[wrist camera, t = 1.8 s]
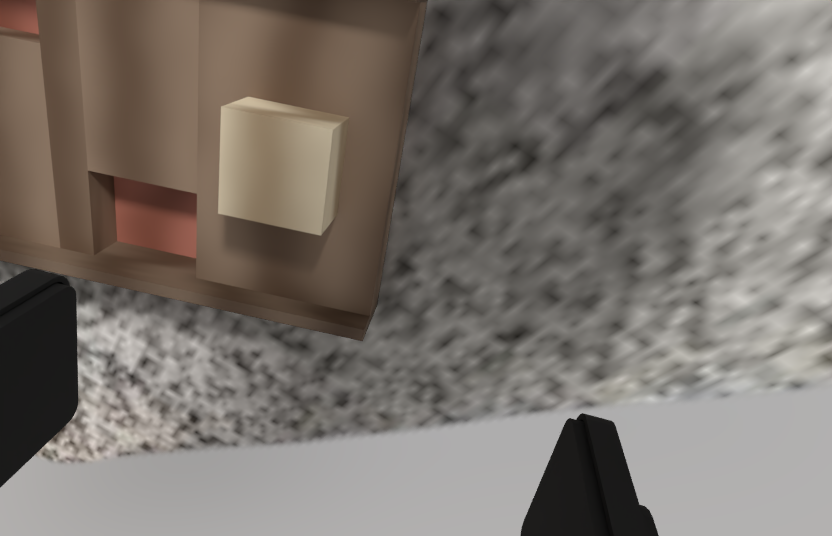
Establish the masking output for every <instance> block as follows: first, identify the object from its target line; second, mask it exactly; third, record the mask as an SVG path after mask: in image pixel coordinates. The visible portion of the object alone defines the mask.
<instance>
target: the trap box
mask: <svg viewBox="0 0 832 536" xmlns="http://www.w3.org/2000/svg"><path fill="white" fill-rule="evenodd" d="M426 6H427V0H0V261H5V262H9V263H14V264H18V265H23V266H27V267H32V268H36V269H41V270H45V271H50V272H54V273H59V274H63V275H68V276H72V277H77V278H81V279H86V280H90V281H95V282H99V283H104V284H108V285H113V286H117V287H122V288H126V289H131V290H135V291H140V292H144V293H149V294H153V295H158V296H162V297H167V298H171V299H176V300H180V301H185V302H189V303H193V304H198V305H202V306H207V307H211V308H216V309H220V310H225V311H229V312H234V313H238V314H243V315H247V316H252V317H256V318H261V319H265V320H270V321H274V322H279V323H283V324H288V325H292V326H297V327H301V328H306V329H310V330H315V331H319V332H324V333H328V334H333V335H337V336H342V337H346V338H351V339H355V340H360V341H363V338H364V336H365V334H366V331H367V329H368V326H369V324H370V321H371V319H372V316H373V314H374V312H375V309H376V307H377V302H378V296H379V290H380V284H381V278H382V271H383V265H384V259H385V253H386V247H387V241H388V235H389V229H390V223H391V217H392V211H393V205H394V199H395V193H396V187H397V181H398V175H399V169H400V163H401V157H402V151H403V145H404V139H405V133H406V127H407V121H408V115H409V109H410V103H411V97H412V91H413V85H414V79H415V73H416V67H417V61H418V55H419V49H420V43H421V37H422V31H423V25H424V19H425V12H426ZM246 97H252V98H257V99H262V100H267V101H272V102H277V103H281V104H286V105H291V106H296V107H301V108H306V109H311V110H316V111H321V112H325V113H330V114H335V115H340V116H345V117H349V123H348V131H347V139H346V147H345V156H344V164H343V172H342V180H341V188H340V196H339V205H338V213H337V216H336V217H335V218H334V219H333V221H332V222H331V223H330V225H329V226H328V227H327V229H326V230H325V231H324V232H323V234H322V235H321V236H320V235H316V234H311V233H306V232H302V231H297V230H292V229H288V228H283V227H278V226H274V225H269V224H264V223H260V222H255V221H250V220H246V219H241V218H236V217H232V216H227V215H223V214H218V198H219V162H220V126H221V106H224V105H227V104H230V103H232V102H235V101H238V100H240V99H243V98H246Z"/></svg>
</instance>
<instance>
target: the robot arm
mask: <svg viewBox="0 0 832 536" xmlns="http://www.w3.org/2000/svg"><path fill="white" fill-rule="evenodd" d="M77 406H78V365H77V311H76V291H75V290H74V288H73V287H70V285H69V282H68V280H67V279H66V278H65V277H63V276H60V275H56V274H52V273H48V272H44V271H41V270H37V269H29V270H26V271H24V272H23V273H21V274H19V275H17V276H15V277H13V278H11V279H10V280H8V281H6V282H4V283H2V284H0V487H1V486H2V485H3V484H4V483H5V482H6V481H7V480H9V479H10V478H11V477H12V476H13V475H14V474H15V473H16V472H17V471H18V470H19V469H20V468H21V467H22V466H23V465H24V464H25V463H26V462H28V461H29V460H30V459H31V458H32V457H33V456H34V455H35V454H36V453H37V452H38V451H39V450H40V449H41V448H42V447H43V446H44V445H45V444H46V443H47V442H48V441H50V440H51V439H52V438H53V437H54V436H55V435H56V434H57V433H58V432H59V431H60V430H61V429H62V428H63V427H64V426H65V425H66V424H67V423H68V422H69V421H70V420H71V419H72V417H73V416H74V414H75V412H76V409H77ZM521 536H658V533H657V529H656V526H655V523H654V520H653V517H652V515H651V513H650V511H649V510H648V509H647V508H646V507H645V506H642V505H639V502H638V499H637V496H636V492H635V489H634V486H633V483H632V479H631V476H630V473H629V469H628V466H627V463H626V459H625V456H624V453H623V449H622V446H621V443H620V440H619V436H618V433H617V430H616V426H615V424H614V423H613V422H612V421H609V420H606V419H602V418H598V417H594V416H591V415H587V414H583V413H582V414H580V415H579V417H578V418H577V420H574V419H571V418H569V419H568V420H567V421H566V423H565V425H564V427H563V430H562V432H561V434H560V437H559V439H558V441H557V444H556V446H555V448H554V451H553V453H552V455H551V458H550V460H549V463H548V465H547V467H546V470H545V473H544V475H543V477H542V479H541V481H540V484H539V486H538V489H537V491H536V494H535V496H534V498H533V501H532V503H531V505H530V508H529V510H528V512H527V515H526V517H525V519H524V522H523V526H522V530H521Z"/></svg>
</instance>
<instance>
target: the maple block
mask: <svg viewBox="0 0 832 536" xmlns="http://www.w3.org/2000/svg"><path fill="white" fill-rule="evenodd" d="M348 123H349V117H345V116H340V115H335V114H330V113H325V112H321V111H316V110H311V109H306V108H301V107H296V106H291V105H286V104H281V103H277V102H272V101H267V100H262V99H257V98H252V97H246V98H243V99H240V100H238V101H235V102H232V103H230V104H227V105H224V106H221V126H220V162H219V198H218V214H223V215H227V216H232V217H236V218H241V219H246V220H250V221H255V222H260V223H264V224H269V225H274V226H278V227H283V228H288V229H292V230H297V231H302V232H306V233H311V234H316V235H320V236H321V235H322V234H323V232H324V231H325V230H326V229H327V227H328V226H329V225H330V223H331V222H332V221H333V219H334V218H335V217H336V216H337V213H338V205H339V196H340V188H341V180H342V172H343V164H344V156H345V147H346V139H347V131H348Z"/></svg>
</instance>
